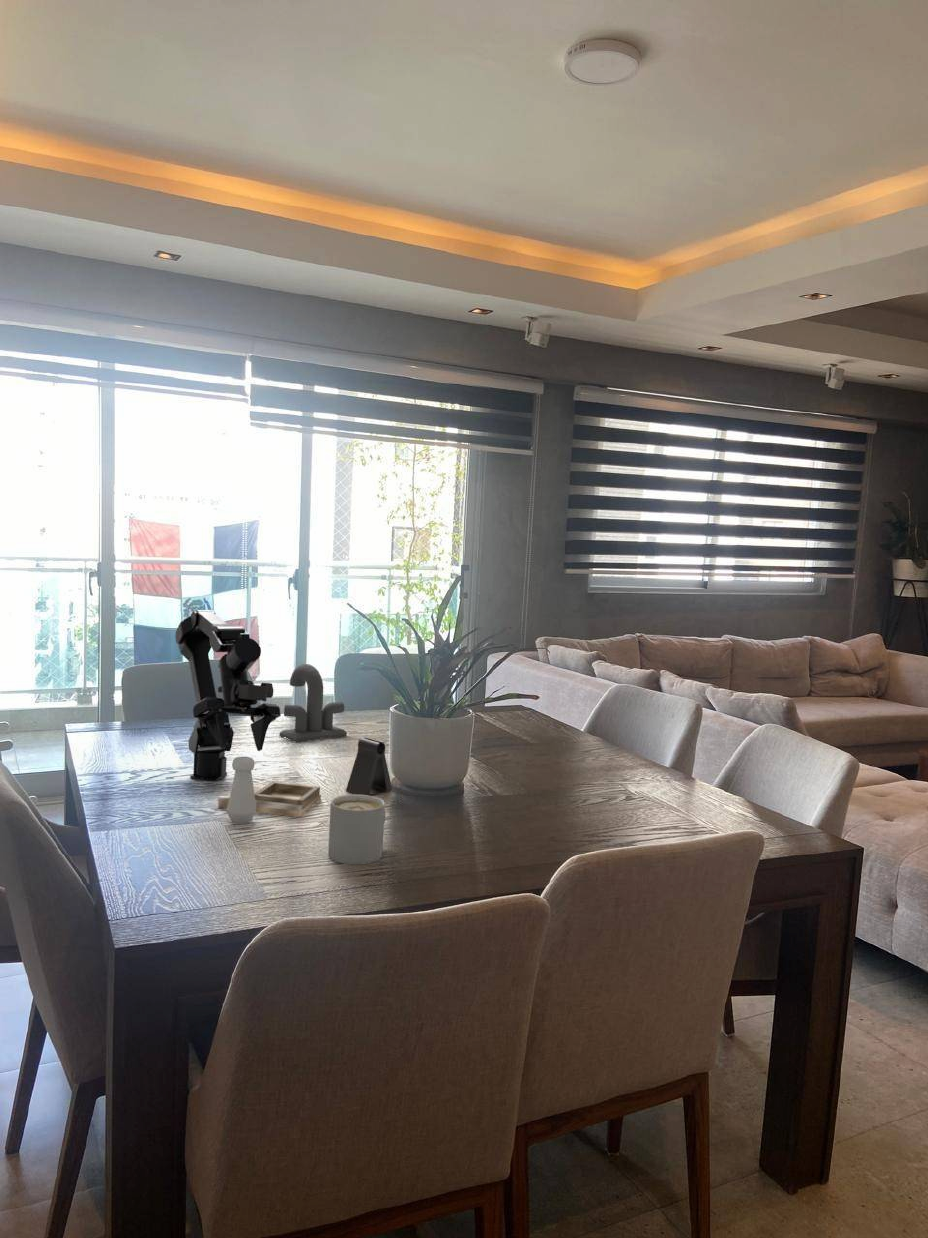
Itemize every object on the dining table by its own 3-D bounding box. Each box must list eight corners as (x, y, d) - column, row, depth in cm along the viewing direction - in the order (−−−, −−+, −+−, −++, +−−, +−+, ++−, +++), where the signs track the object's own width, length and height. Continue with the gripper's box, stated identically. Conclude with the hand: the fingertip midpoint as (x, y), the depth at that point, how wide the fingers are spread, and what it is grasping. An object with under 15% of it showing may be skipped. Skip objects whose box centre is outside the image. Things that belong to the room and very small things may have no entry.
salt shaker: (229, 815, 191) (231, 753, 190) (257, 816, 191) (260, 754, 190) (224, 825, 185) (226, 760, 184) (253, 826, 186) (256, 762, 184)
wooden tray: (218, 807, 196) (218, 792, 196) (243, 790, 209) (244, 776, 208) (299, 817, 193) (300, 802, 192) (320, 799, 206) (321, 785, 205)
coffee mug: (353, 868, 166) (356, 814, 165) (317, 853, 173) (319, 800, 172) (406, 851, 176) (409, 800, 175) (369, 838, 183) (372, 788, 182)
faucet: (317, 725, 280) (320, 659, 278) (348, 735, 269) (351, 667, 267) (264, 731, 268) (267, 662, 266) (294, 742, 256) (297, 670, 254)
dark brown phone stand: (363, 798, 209) (366, 745, 208) (345, 791, 213) (348, 740, 212) (392, 791, 216) (395, 740, 215) (374, 785, 220) (377, 735, 219)
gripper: (219, 661, 191) (226, 734, 185) (291, 672, 205) (300, 740, 199) (188, 680, 198) (195, 751, 192) (261, 689, 211) (269, 756, 206)
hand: (242, 749), depth 197 cm, fingers open, 9 cm apart
